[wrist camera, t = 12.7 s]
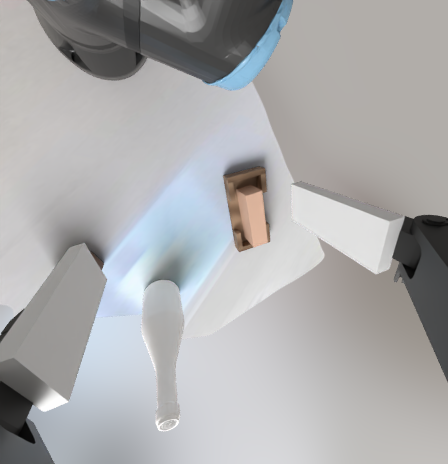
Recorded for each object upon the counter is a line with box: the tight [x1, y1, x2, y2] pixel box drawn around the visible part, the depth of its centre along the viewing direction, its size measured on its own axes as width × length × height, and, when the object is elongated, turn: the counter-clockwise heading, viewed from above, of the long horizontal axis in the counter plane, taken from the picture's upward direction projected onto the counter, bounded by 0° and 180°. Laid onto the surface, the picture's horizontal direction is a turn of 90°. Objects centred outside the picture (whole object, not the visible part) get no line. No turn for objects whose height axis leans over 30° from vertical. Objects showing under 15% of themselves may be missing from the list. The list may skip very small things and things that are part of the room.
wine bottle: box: [141, 280, 184, 431], centre depth 44 cm, size 10×10×30 cm
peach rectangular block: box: [236, 185, 268, 247], centre depth 50 cm, size 14×4×6 cm, turn 11°
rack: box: [223, 167, 270, 252], centre depth 52 cm, size 20×9×3 cm, turn 10°
